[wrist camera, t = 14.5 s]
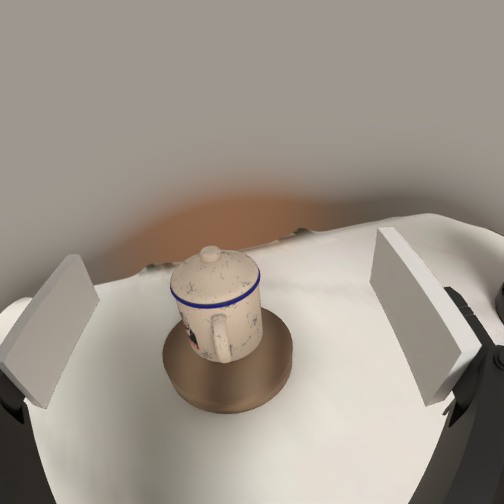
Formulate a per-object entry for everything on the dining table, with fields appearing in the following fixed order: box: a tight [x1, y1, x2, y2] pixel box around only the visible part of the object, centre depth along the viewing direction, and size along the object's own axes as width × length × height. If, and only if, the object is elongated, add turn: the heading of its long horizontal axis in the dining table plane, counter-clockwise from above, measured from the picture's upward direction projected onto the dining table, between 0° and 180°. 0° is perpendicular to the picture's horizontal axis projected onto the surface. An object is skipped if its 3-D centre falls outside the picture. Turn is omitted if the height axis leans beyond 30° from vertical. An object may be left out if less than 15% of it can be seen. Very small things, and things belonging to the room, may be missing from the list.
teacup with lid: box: [170, 246, 263, 363], centre depth 29 cm, size 12×9×12 cm
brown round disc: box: [163, 307, 293, 414], centre depth 32 cm, size 15×15×3 cm
